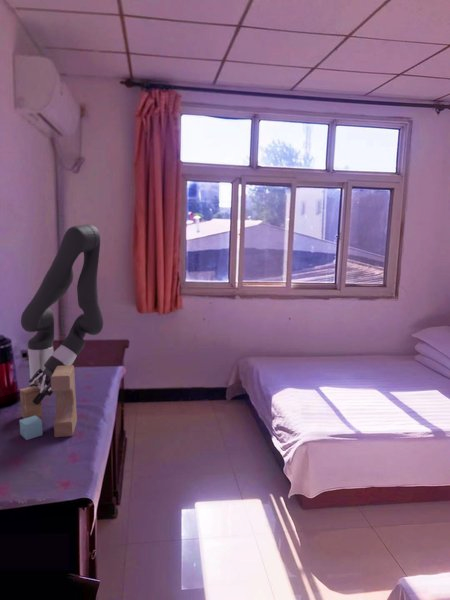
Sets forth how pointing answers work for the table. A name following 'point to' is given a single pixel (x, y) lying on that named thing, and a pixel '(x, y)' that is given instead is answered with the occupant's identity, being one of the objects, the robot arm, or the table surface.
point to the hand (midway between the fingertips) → (30, 400)
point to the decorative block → (64, 400)
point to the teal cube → (31, 427)
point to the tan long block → (30, 402)
